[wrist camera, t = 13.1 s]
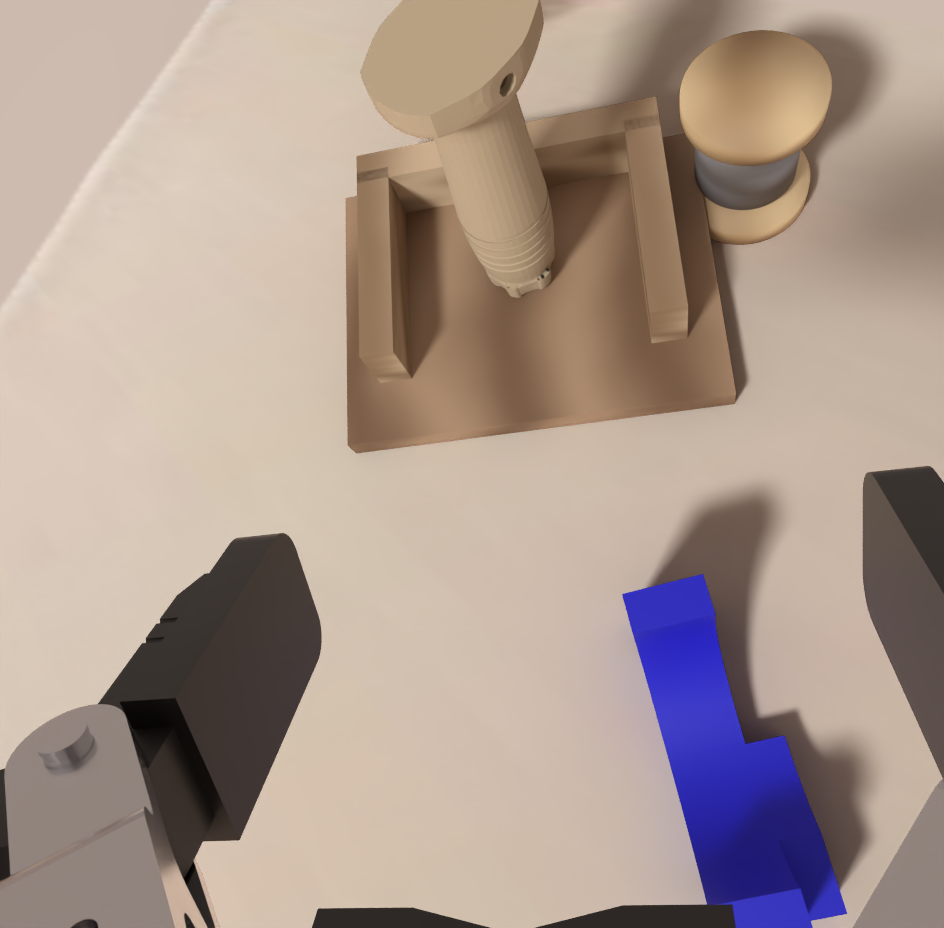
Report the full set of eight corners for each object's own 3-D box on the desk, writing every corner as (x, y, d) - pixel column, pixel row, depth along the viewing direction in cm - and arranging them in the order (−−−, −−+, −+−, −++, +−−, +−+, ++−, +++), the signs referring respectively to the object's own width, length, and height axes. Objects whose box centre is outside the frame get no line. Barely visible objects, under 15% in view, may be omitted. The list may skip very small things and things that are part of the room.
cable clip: (832, 899, 32) (865, 931, 27) (713, 922, 33) (721, 957, 27) (733, 591, 37) (744, 563, 31) (630, 616, 37) (622, 594, 32)
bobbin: (795, 128, 42) (817, 16, 36) (818, 232, 40) (845, 134, 34) (671, 151, 44) (671, 47, 37) (687, 254, 42) (690, 163, 35)
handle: (604, 248, 41) (569, -6, 27) (517, 346, 41) (435, 138, 27) (530, 199, 43) (460, -61, 29) (445, 293, 43) (333, 73, 29)
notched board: (691, 147, 43) (693, 88, 39) (734, 403, 39) (741, 365, 35) (353, 211, 47) (324, 162, 43) (356, 453, 42) (324, 423, 38)
